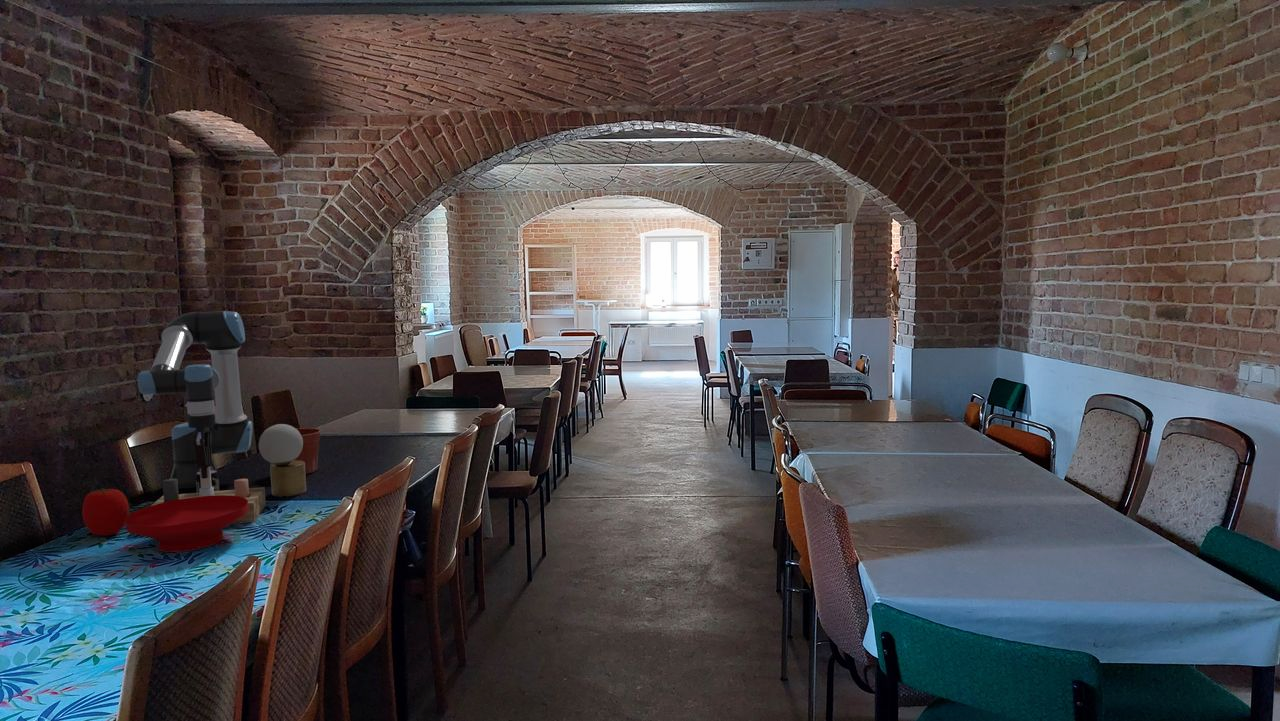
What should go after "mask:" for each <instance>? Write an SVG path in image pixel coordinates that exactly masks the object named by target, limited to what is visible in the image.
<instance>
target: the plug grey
mask: <svg viewBox="0 0 1280 721" xmlns="http://www.w3.org/2000/svg"><path fill="white" fill-rule="evenodd" d="M199 492H200V497H201V496H214V487H211V488H200V489H199Z"/></svg>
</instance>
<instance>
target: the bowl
mask: <svg viewBox="0 0 1280 721" xmlns="http://www.w3.org/2000/svg"><path fill="white" fill-rule="evenodd" d="M151 505H152V506H151ZM151 505H150V506H147V507H144V508H143V507H142V508H141V509H137V510H136V511H133V512H131V513H129V515H128V516H127V517H126V518H125V520H124V521H125V525H124V526H125V529H126V530H125V531H127V532H128V533H130V534H133V535H139V536H143V537H146V538H150V539H152V540H157V541H158V549H159V550H160V551H161V550H162V552H165V553H166V552H167V553H179V552H181V553H182V552H187V551H188V552H189V551H194V550H195V551H196V550H199V549H200V550H201V549H202V548H203V549H204V548H208V547H210V546H213V545H216V544H218V543H219V542H221V541H222V540H223V539H224V534H223V530H224V529H225V528H227V527H228V526H229V525H232V524H231V523H232V522H233V521H235V520H237V519H238V518H240V517H242V516H244V515H245V514H246V513H247V512H248V510H249V508H248V500H247V499H245V498H243V497H239V496H230V495H215V496H201V497H192V498H185V499H179V500H174V501H169V502H164V503H160V504H156V505H153V504H151Z"/></svg>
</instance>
